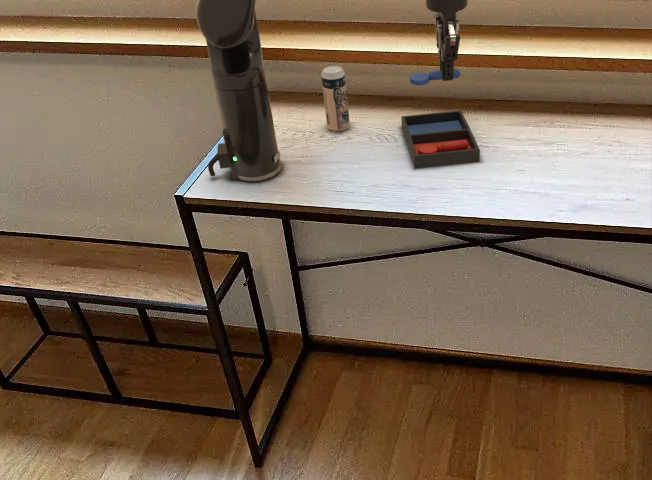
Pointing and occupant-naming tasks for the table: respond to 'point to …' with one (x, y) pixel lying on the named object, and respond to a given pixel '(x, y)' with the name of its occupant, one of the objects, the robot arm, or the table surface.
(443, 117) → the sorting tray
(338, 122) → the beer can
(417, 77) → the blue spoon
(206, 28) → the robot arm
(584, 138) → the table surface
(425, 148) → the red spoon
